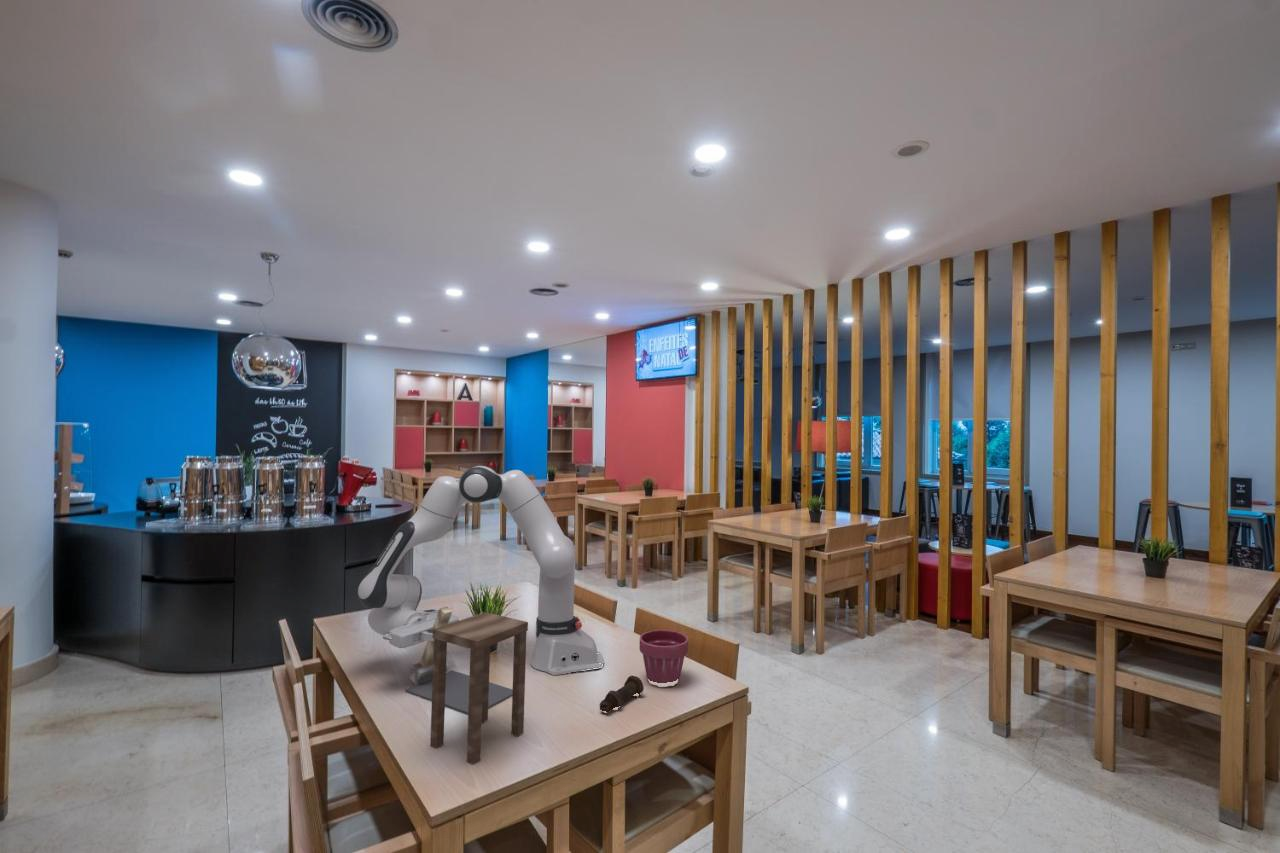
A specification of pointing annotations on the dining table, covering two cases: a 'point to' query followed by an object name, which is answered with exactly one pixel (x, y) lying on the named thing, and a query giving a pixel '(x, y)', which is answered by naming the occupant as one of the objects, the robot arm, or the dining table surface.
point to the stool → (477, 673)
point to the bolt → (622, 694)
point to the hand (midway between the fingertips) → (444, 635)
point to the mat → (460, 692)
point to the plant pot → (663, 654)
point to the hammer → (429, 652)
